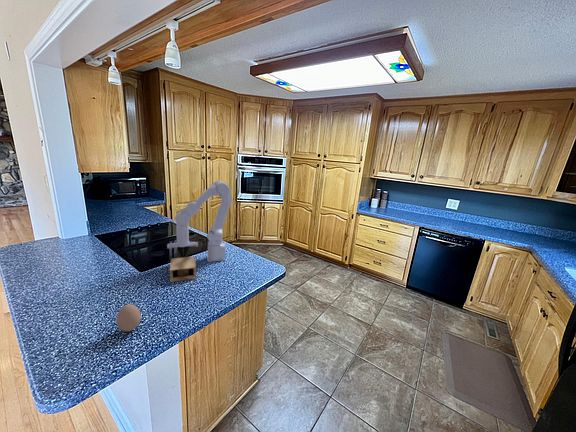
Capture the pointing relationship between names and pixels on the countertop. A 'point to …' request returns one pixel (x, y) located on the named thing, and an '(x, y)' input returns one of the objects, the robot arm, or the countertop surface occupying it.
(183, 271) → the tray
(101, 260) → the countertop surface
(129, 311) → the egg
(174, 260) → the shelf
